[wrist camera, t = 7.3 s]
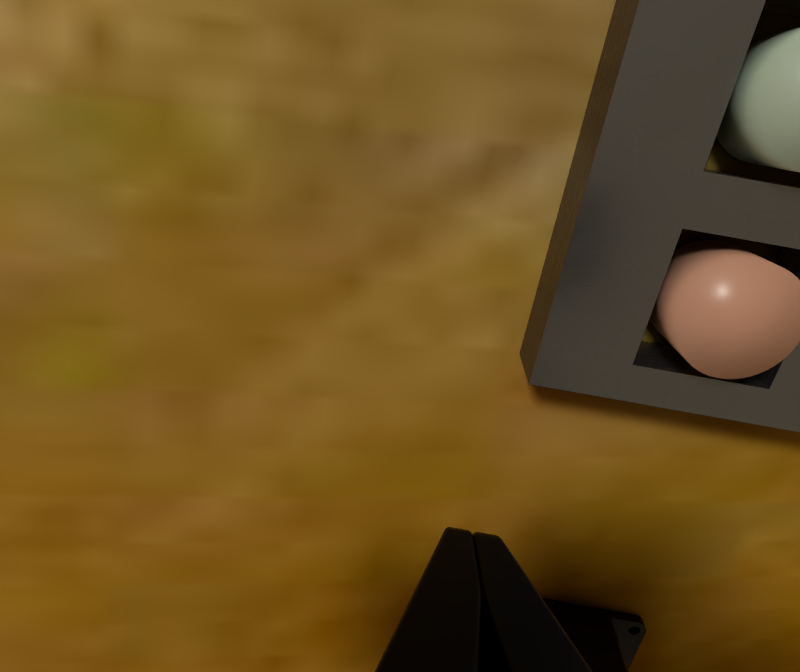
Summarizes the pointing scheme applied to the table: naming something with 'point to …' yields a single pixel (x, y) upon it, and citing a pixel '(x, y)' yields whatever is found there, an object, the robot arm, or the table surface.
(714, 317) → the salmon pink rounded lump
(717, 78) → the grey holder
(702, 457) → the table surface
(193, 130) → the table surface
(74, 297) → the table surface
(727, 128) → the egg sage
